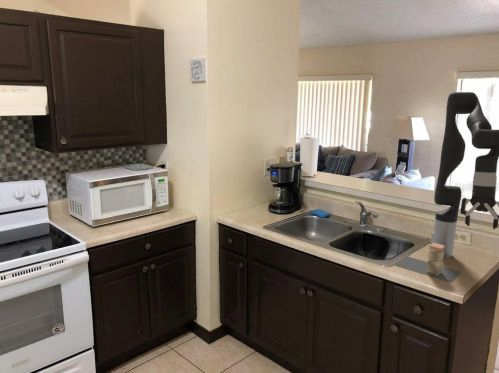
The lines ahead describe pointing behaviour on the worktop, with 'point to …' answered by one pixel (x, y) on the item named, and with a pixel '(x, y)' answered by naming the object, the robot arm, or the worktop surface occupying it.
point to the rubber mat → (421, 268)
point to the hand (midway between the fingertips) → (480, 227)
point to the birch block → (435, 259)
